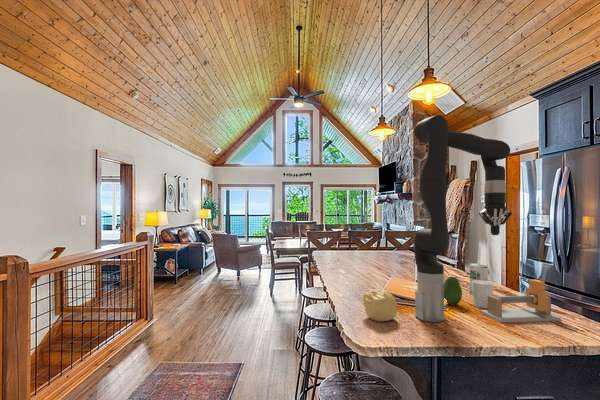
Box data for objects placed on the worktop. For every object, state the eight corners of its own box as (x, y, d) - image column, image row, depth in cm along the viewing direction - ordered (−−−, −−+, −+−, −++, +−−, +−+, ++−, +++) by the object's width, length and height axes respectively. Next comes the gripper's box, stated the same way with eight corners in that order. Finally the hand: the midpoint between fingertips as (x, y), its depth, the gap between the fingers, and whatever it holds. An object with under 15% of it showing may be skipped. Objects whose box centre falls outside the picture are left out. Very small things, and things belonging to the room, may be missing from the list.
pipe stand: (500, 322, 118) (499, 300, 118) (480, 312, 128) (480, 292, 129) (560, 320, 120) (560, 298, 120) (536, 311, 131) (535, 291, 131)
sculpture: (358, 315, 125) (358, 286, 125) (387, 312, 128) (387, 285, 128) (372, 325, 114) (372, 294, 114) (403, 322, 117) (403, 292, 117)
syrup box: (468, 293, 157) (468, 263, 158) (478, 292, 159) (478, 262, 160) (478, 296, 152) (478, 265, 152) (488, 295, 154) (488, 264, 154)
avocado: (465, 304, 139) (465, 276, 139) (456, 308, 134) (456, 279, 134) (446, 300, 145) (446, 273, 145) (438, 304, 140) (438, 275, 140)
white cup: (496, 309, 133) (496, 284, 133) (475, 308, 135) (475, 283, 135) (489, 303, 141) (489, 280, 141) (469, 302, 142) (469, 279, 143)
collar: (541, 311, 121) (540, 282, 122) (526, 305, 128) (525, 278, 129) (548, 310, 122) (548, 282, 122) (533, 305, 129) (532, 278, 129)
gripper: (485, 191, 127) (485, 235, 127) (517, 192, 128) (517, 236, 128) (473, 192, 135) (473, 234, 134) (503, 192, 136) (503, 234, 135)
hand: (495, 235), depth 131 cm, fingers closed
